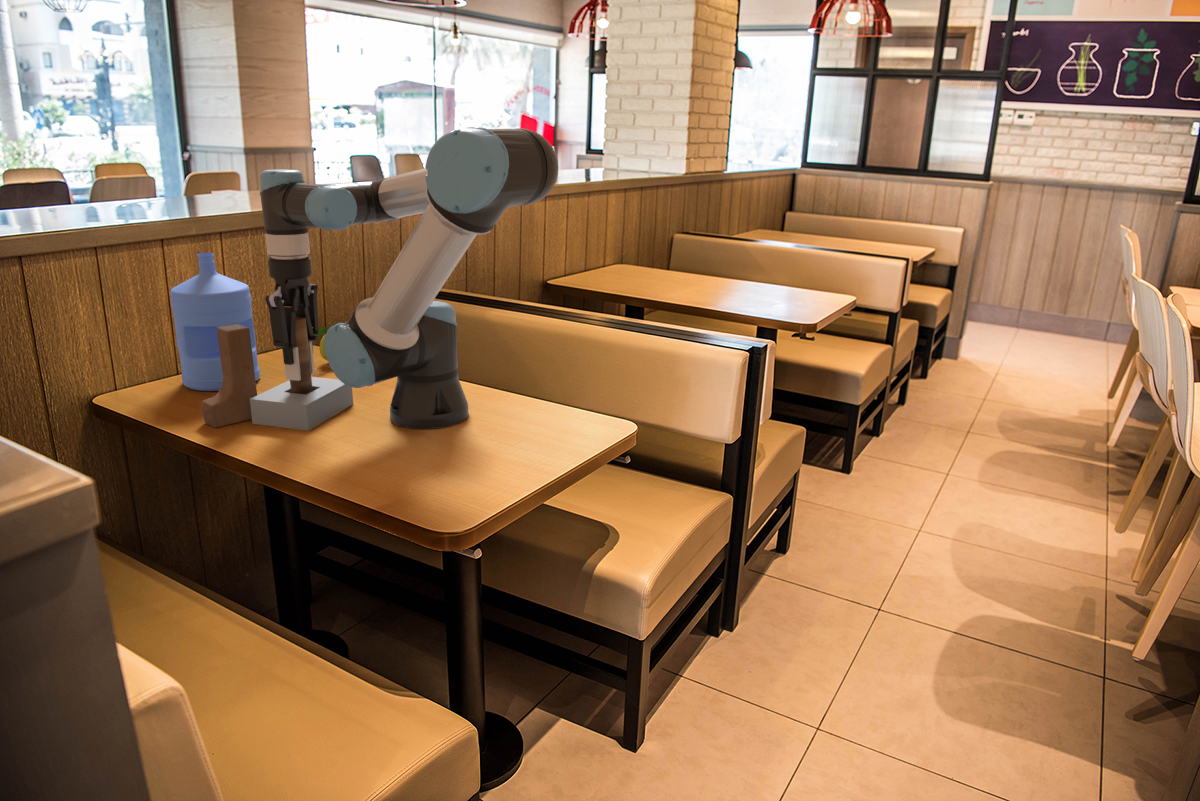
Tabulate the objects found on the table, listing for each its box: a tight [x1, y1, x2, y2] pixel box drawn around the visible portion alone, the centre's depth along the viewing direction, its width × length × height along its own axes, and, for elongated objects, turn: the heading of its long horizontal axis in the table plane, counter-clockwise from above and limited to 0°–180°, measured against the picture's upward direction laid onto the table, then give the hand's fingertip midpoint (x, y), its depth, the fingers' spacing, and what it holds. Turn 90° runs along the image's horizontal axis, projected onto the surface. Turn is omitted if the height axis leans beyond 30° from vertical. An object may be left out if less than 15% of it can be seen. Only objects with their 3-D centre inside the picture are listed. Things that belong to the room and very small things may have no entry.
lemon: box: [316, 322, 331, 362], centre depth 195 cm, size 7×6×10 cm
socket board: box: [250, 376, 354, 431], centre depth 162 cm, size 16×12×5 cm
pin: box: [290, 316, 313, 395], centre depth 160 cm, size 4×4×16 cm
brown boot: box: [201, 324, 258, 429], centre depth 156 cm, size 9×4×18 cm, turn 137°
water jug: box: [169, 252, 261, 392], centre depth 177 cm, size 16×16×28 cm
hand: (300, 375), depth 161 cm, fingers closed on pin, 4 cm apart
